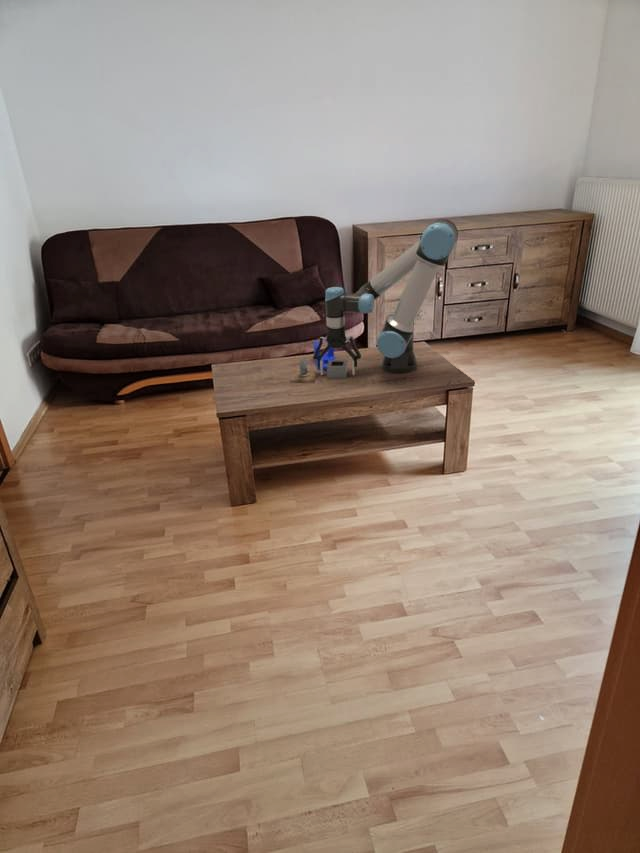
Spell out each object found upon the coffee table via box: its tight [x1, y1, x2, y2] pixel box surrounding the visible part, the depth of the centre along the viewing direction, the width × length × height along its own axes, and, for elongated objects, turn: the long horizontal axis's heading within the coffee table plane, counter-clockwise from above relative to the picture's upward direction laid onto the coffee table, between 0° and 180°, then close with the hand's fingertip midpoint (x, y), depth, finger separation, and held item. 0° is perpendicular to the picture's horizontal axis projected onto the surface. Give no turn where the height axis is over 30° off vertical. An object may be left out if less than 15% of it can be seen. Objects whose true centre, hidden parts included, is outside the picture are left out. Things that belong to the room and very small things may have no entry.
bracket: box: [313, 341, 335, 372], centre depth 253 cm, size 18×8×9 cm, turn 6°
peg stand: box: [290, 358, 318, 384], centre depth 239 cm, size 10×10×8 cm
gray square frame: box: [326, 359, 349, 379], centre depth 241 cm, size 8×8×5 cm
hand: (337, 374), depth 242 cm, fingers open, 13 cm apart
